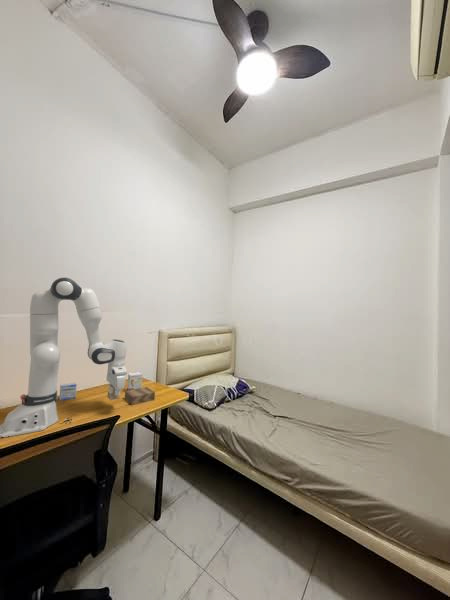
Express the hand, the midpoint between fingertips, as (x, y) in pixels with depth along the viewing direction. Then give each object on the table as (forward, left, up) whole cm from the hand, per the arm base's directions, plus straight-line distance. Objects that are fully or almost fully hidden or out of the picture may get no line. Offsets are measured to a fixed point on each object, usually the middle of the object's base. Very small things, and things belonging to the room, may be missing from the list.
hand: (113, 393), depth 133 cm
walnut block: (+17, +4, -9) cm, 19 cm away
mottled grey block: (0, 0, -3) cm, 3 cm away
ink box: (+20, +20, -9) cm, 29 cm away
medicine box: (-17, +30, -9) cm, 36 cm away
